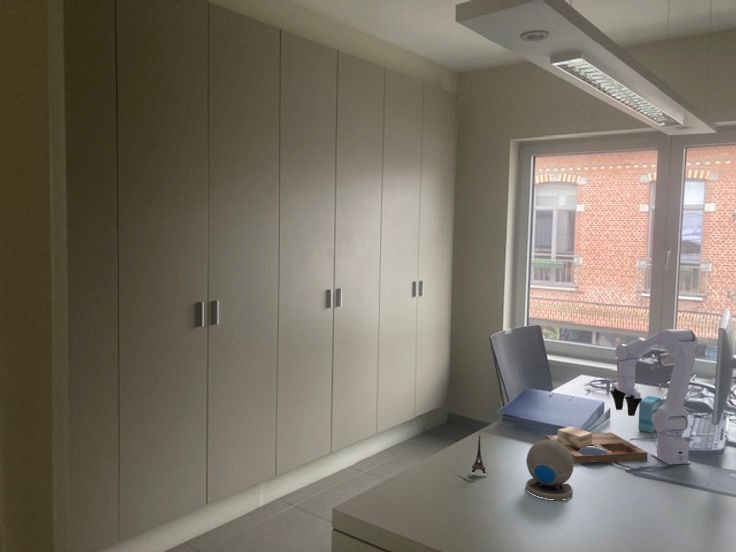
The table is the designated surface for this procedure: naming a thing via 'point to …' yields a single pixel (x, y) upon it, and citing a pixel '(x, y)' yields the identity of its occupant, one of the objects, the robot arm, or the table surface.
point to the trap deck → (606, 449)
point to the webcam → (550, 470)
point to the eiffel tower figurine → (478, 464)
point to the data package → (648, 413)
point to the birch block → (574, 437)
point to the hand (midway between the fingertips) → (625, 412)
